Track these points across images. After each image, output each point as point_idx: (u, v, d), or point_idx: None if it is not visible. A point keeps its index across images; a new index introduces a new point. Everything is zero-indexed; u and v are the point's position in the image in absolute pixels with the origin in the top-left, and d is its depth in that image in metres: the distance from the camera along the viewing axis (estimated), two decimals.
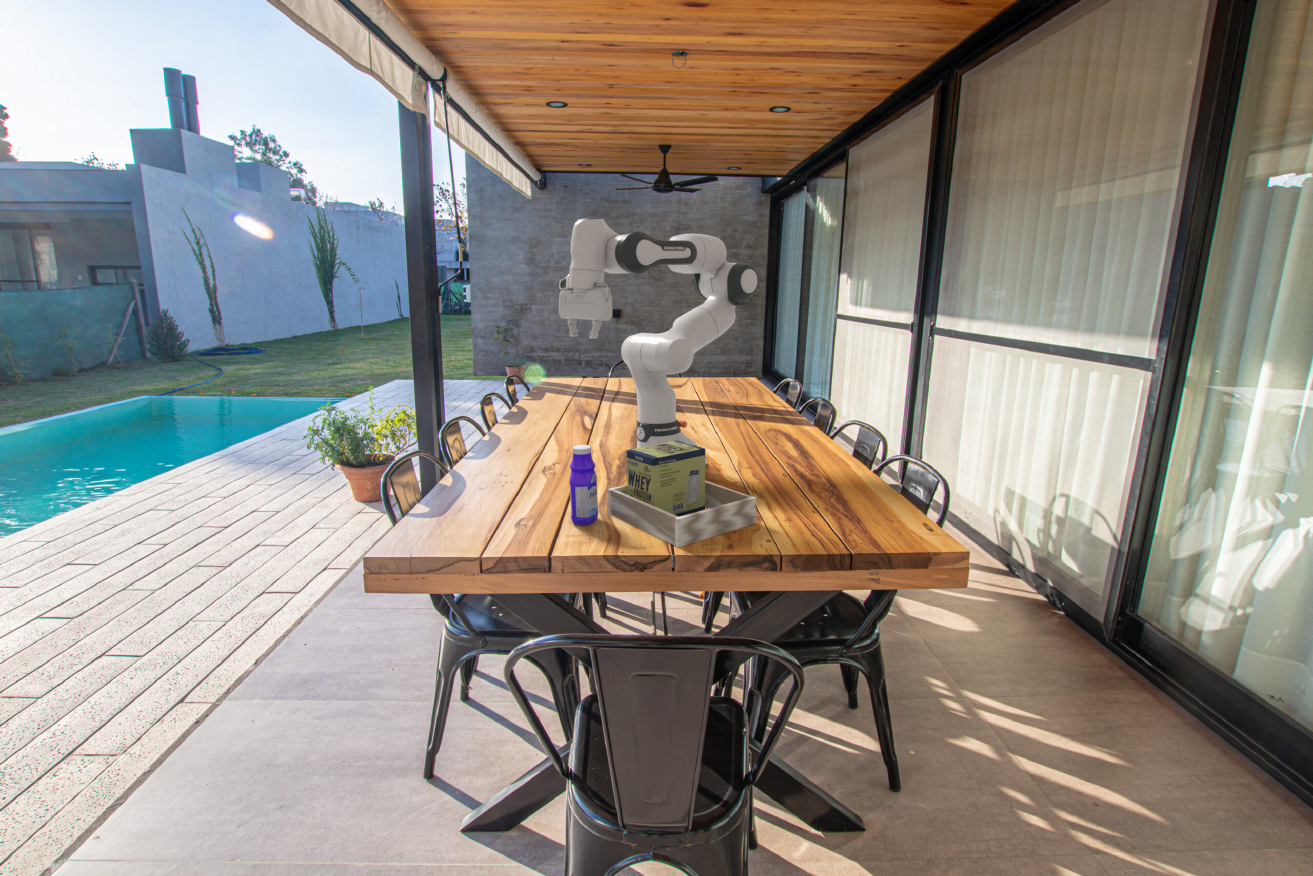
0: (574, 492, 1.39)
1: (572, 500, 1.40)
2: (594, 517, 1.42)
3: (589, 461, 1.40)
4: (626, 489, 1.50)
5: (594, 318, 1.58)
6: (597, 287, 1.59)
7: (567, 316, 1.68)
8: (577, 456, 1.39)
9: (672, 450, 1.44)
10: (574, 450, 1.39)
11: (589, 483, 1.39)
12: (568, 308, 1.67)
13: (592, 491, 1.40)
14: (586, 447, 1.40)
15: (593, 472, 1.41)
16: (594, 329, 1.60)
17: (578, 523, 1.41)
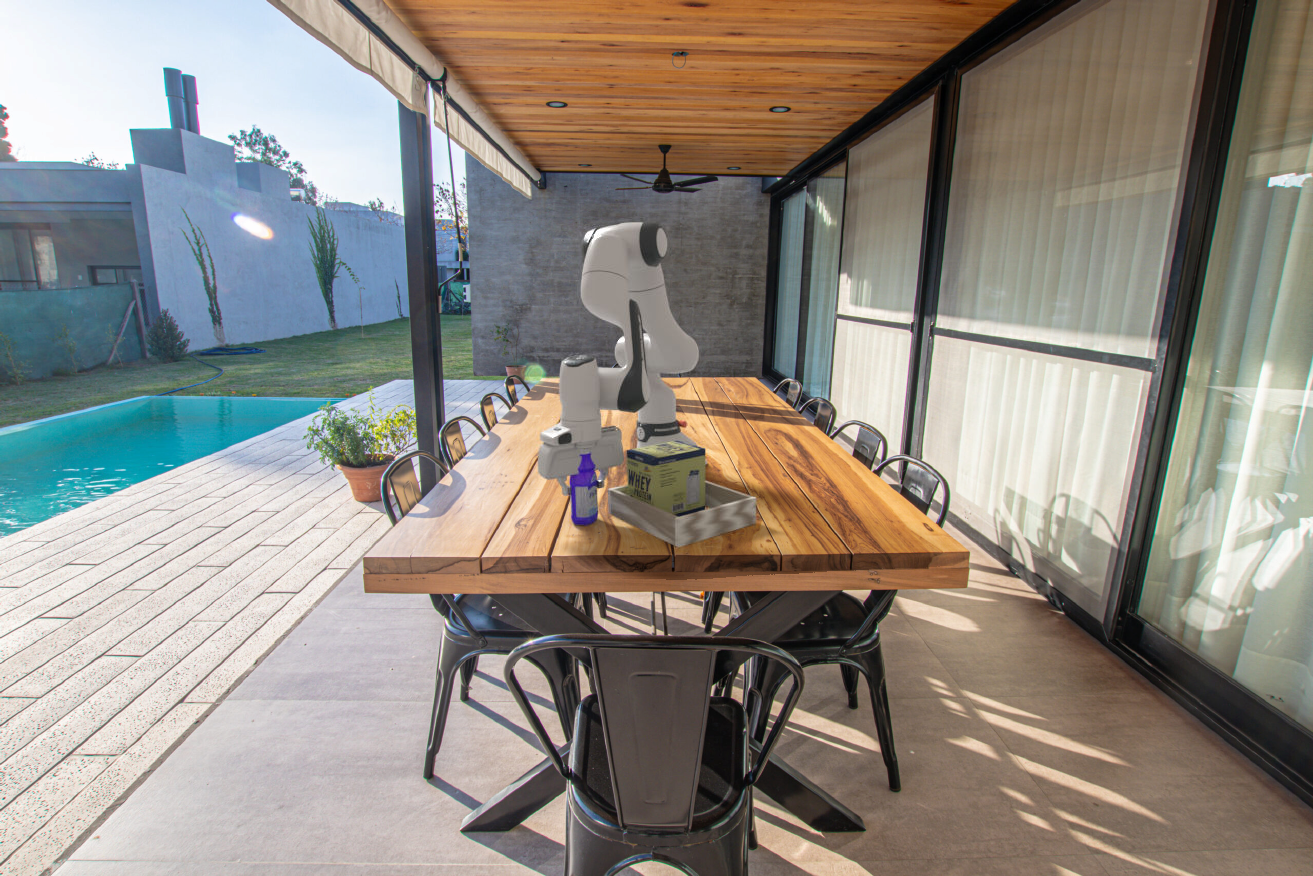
0: (574, 492, 1.39)
1: (572, 500, 1.40)
2: (594, 517, 1.42)
3: (589, 461, 1.40)
4: (626, 489, 1.50)
5: (614, 465, 1.45)
6: (605, 432, 1.43)
7: (564, 475, 1.37)
8: None
9: (672, 450, 1.44)
10: None
11: (590, 483, 1.39)
12: (565, 466, 1.37)
13: (592, 491, 1.40)
14: None
15: (593, 472, 1.41)
16: None
17: (578, 523, 1.41)
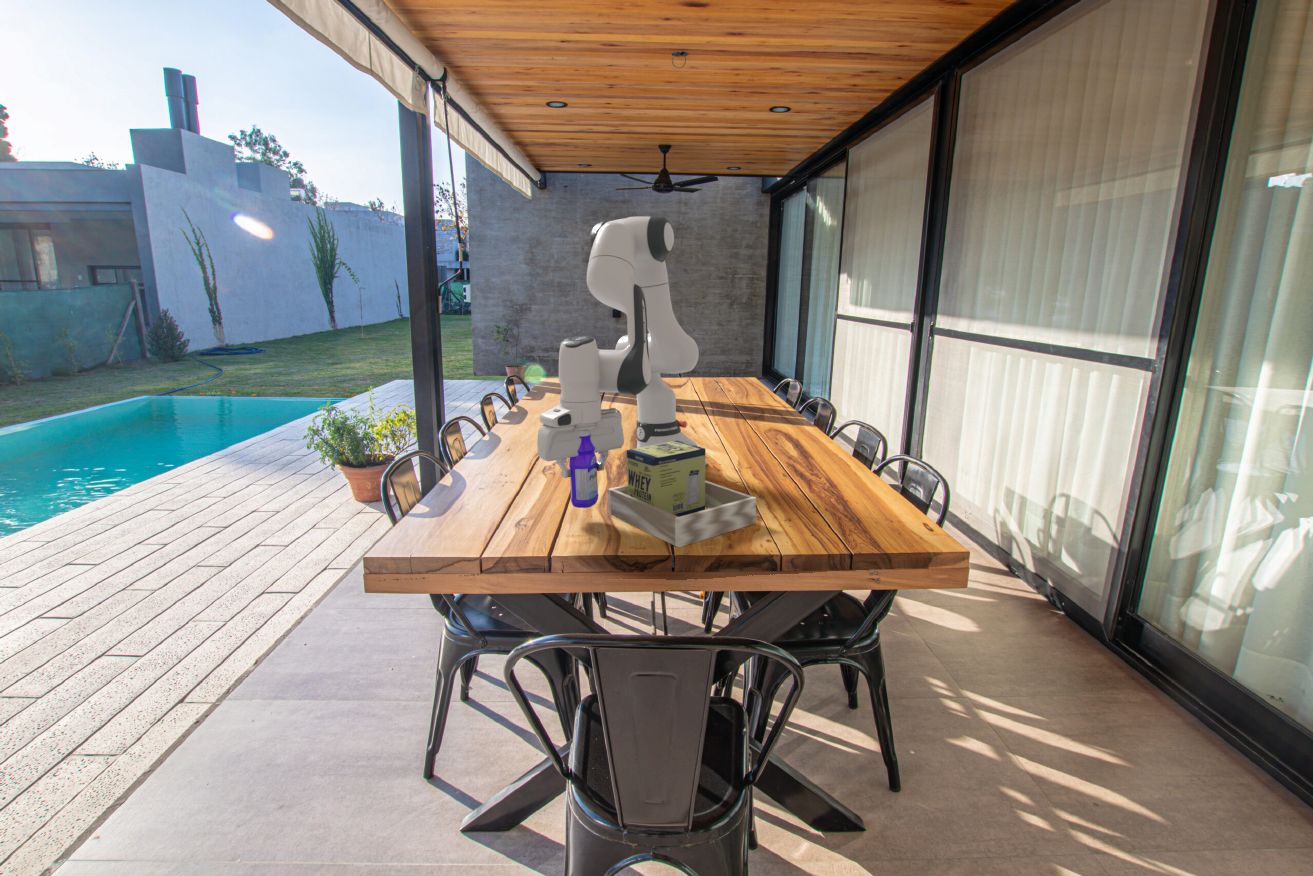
0: (574, 474, 1.39)
1: (572, 482, 1.40)
2: (594, 500, 1.42)
3: (589, 443, 1.39)
4: (626, 489, 1.50)
5: (614, 448, 1.44)
6: (604, 414, 1.42)
7: (564, 456, 1.36)
8: None
9: (672, 450, 1.44)
10: None
11: (589, 465, 1.39)
12: (564, 447, 1.36)
13: (592, 474, 1.40)
14: None
15: (593, 454, 1.40)
16: None
17: (578, 506, 1.41)
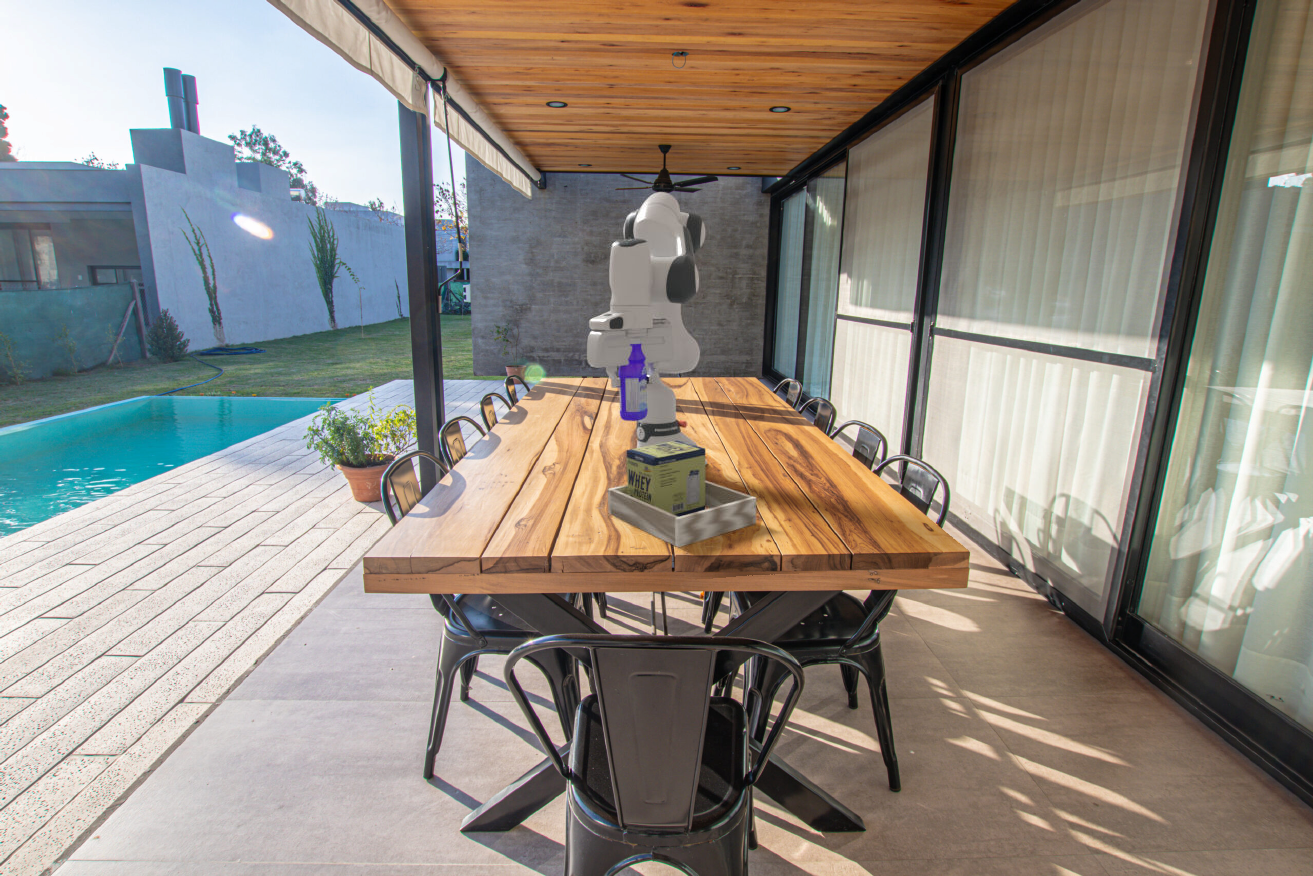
0: (624, 384, 1.33)
1: (622, 393, 1.34)
2: (644, 413, 1.35)
3: (640, 352, 1.33)
4: (626, 489, 1.50)
5: (665, 360, 1.38)
6: (655, 324, 1.36)
7: (615, 364, 1.30)
8: None
9: (672, 450, 1.44)
10: None
11: (640, 374, 1.32)
12: (615, 354, 1.30)
13: (642, 384, 1.34)
14: None
15: (643, 364, 1.34)
16: None
17: (628, 418, 1.35)
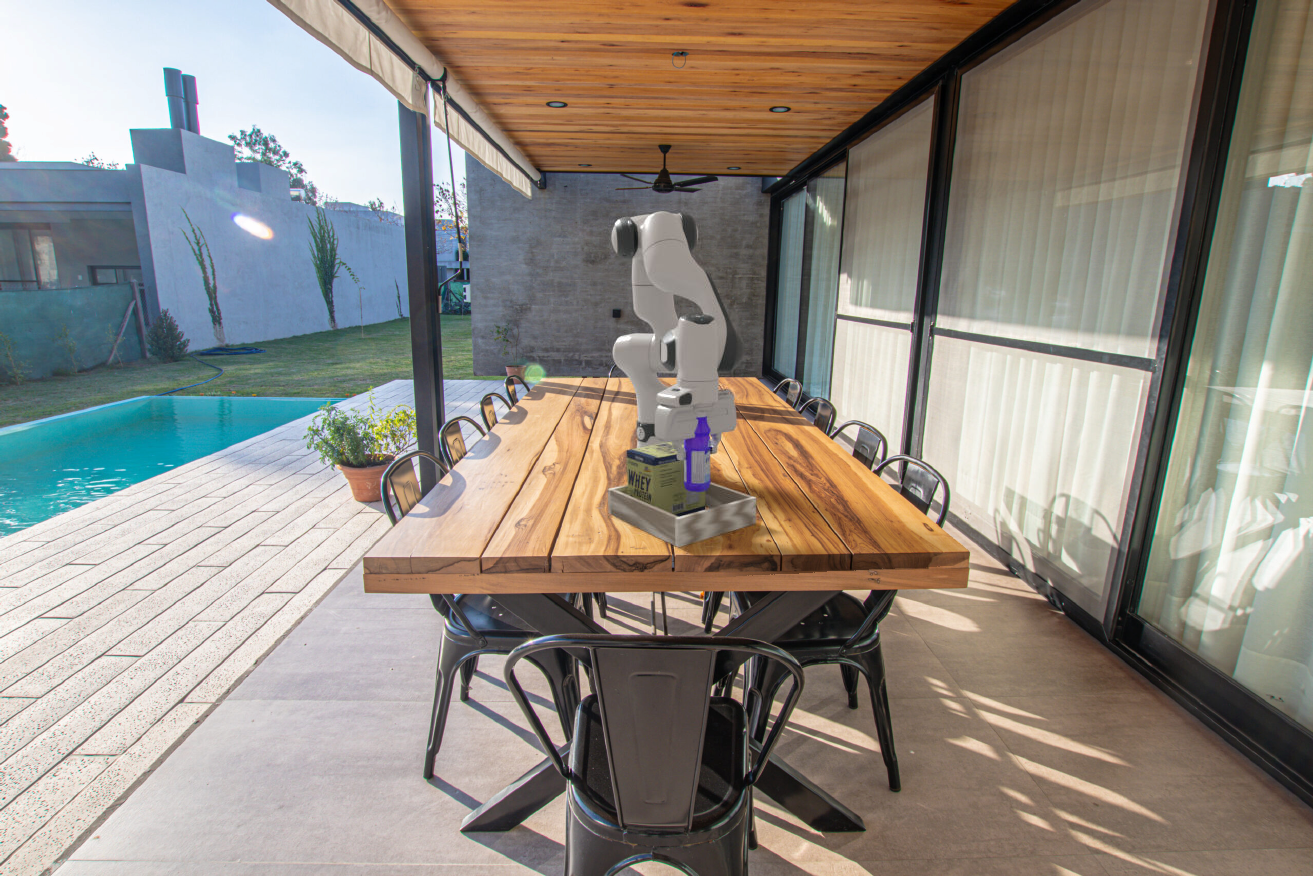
0: (690, 456, 1.34)
1: (687, 465, 1.35)
2: (708, 483, 1.37)
3: (705, 425, 1.34)
4: (626, 489, 1.50)
5: (727, 430, 1.39)
6: (719, 395, 1.38)
7: (682, 438, 1.32)
8: None
9: (672, 450, 1.44)
10: None
11: (706, 447, 1.34)
12: (683, 428, 1.31)
13: (707, 456, 1.35)
14: None
15: (709, 436, 1.35)
16: None
17: (692, 489, 1.36)
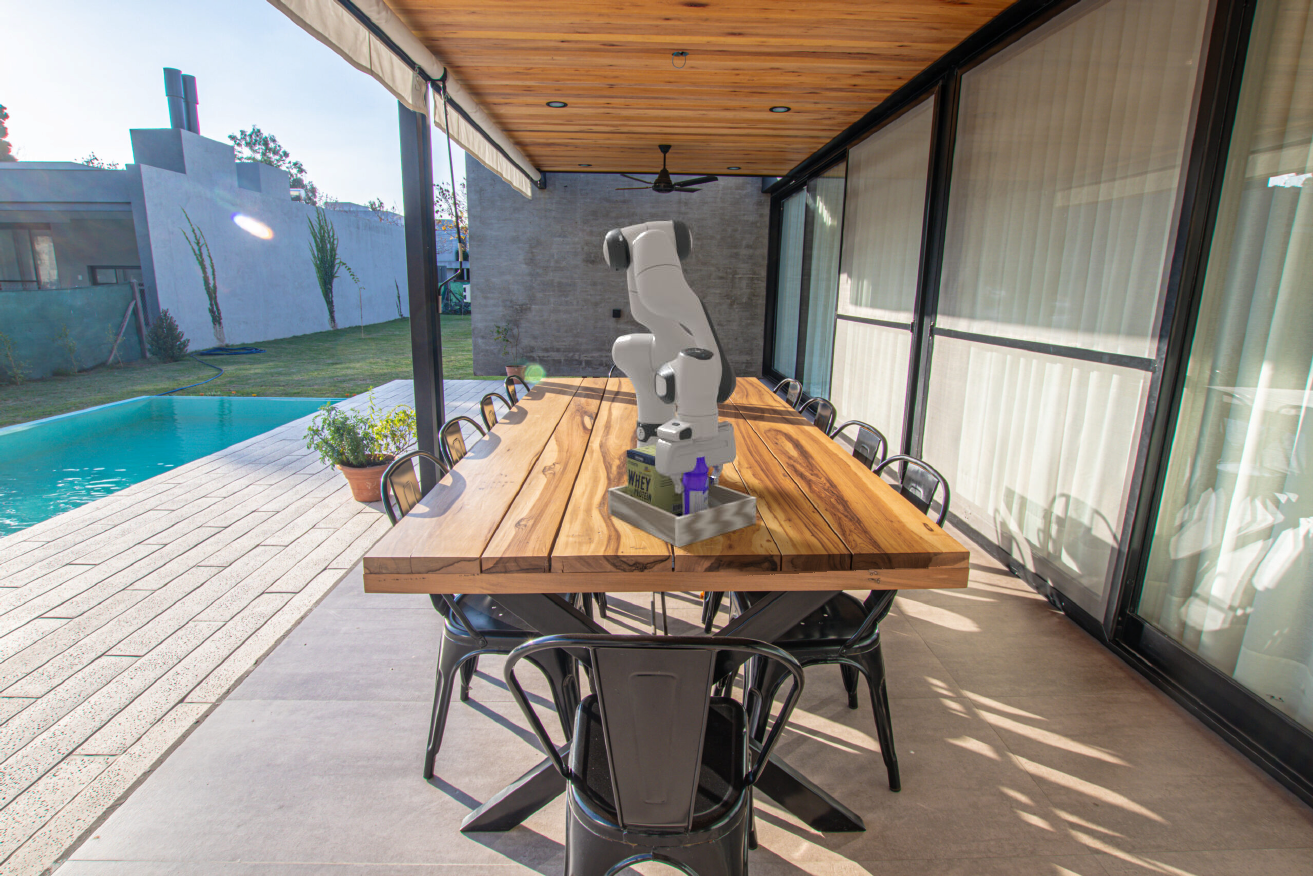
0: (688, 496, 1.36)
1: (685, 504, 1.36)
2: None
3: (704, 465, 1.36)
4: (626, 489, 1.50)
5: (727, 462, 1.41)
6: (719, 428, 1.39)
7: (682, 471, 1.33)
8: None
9: None
10: None
11: (704, 487, 1.35)
12: (683, 462, 1.33)
13: (705, 496, 1.36)
14: None
15: (707, 476, 1.37)
16: None
17: None
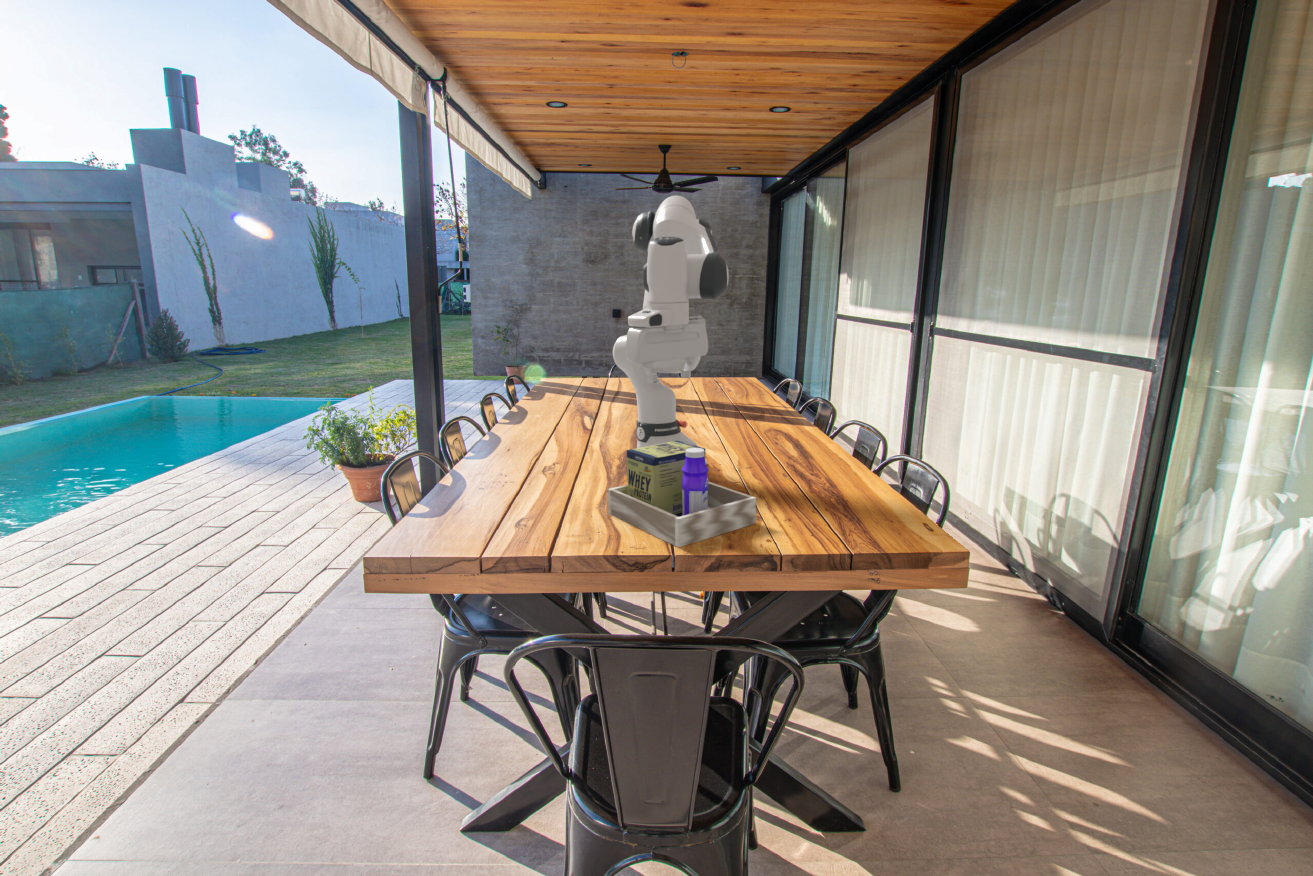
0: (687, 496, 1.35)
1: (685, 505, 1.36)
2: None
3: (703, 465, 1.36)
4: (626, 489, 1.50)
5: (699, 355, 1.42)
6: (690, 320, 1.40)
7: (653, 360, 1.34)
8: (691, 459, 1.35)
9: (672, 450, 1.44)
10: (688, 453, 1.35)
11: (704, 487, 1.35)
12: (654, 350, 1.34)
13: (705, 496, 1.36)
14: (700, 450, 1.36)
15: (706, 476, 1.37)
16: None
17: None
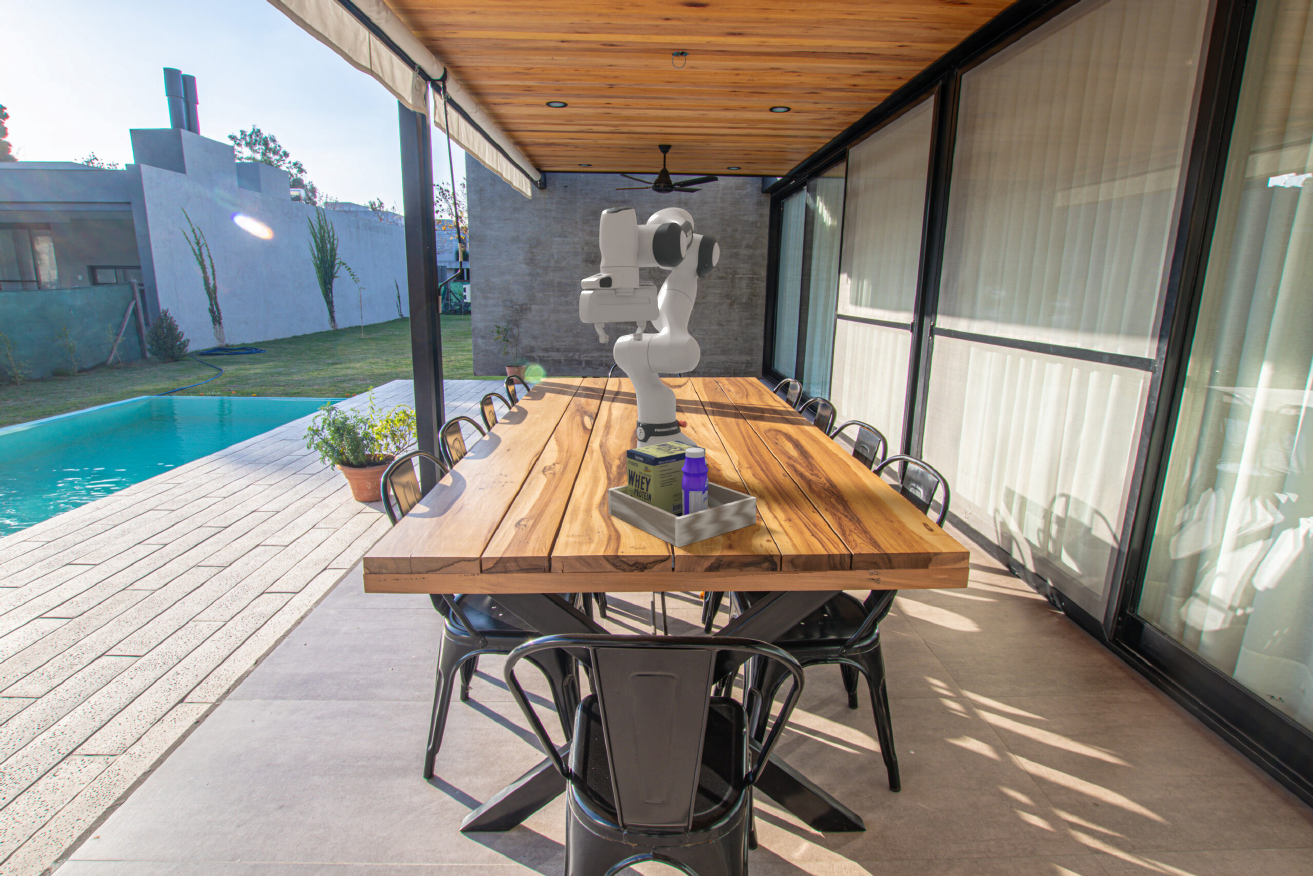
0: (687, 496, 1.35)
1: (685, 505, 1.36)
2: None
3: (703, 465, 1.36)
4: (626, 489, 1.50)
5: (650, 319, 1.51)
6: (641, 286, 1.49)
7: (604, 320, 1.43)
8: (691, 459, 1.35)
9: (672, 450, 1.44)
10: (688, 453, 1.35)
11: (704, 487, 1.35)
12: (605, 311, 1.43)
13: (705, 496, 1.36)
14: (700, 450, 1.36)
15: (706, 476, 1.37)
16: None
17: None
